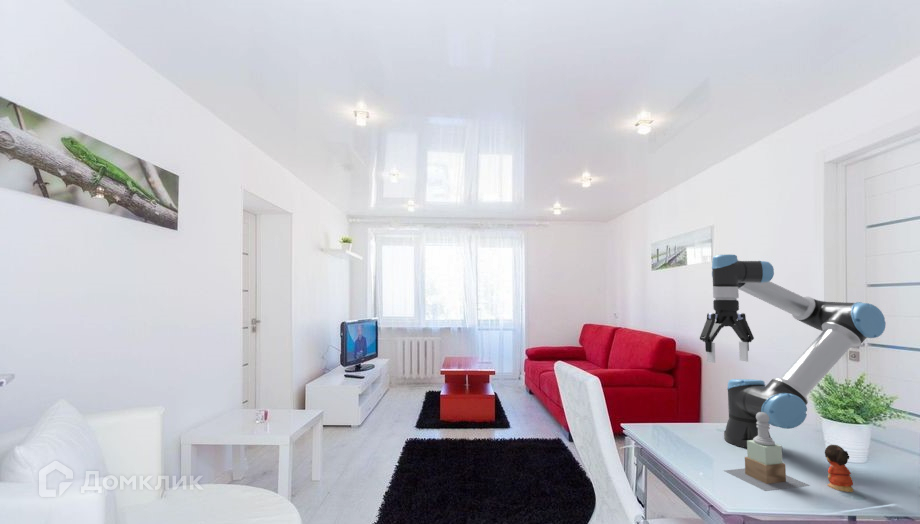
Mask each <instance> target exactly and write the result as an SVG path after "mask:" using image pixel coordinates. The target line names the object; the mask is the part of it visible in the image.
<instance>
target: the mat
mask: <svg viewBox="0 0 920 524" xmlns="http://www.w3.org/2000/svg"><path fill="white" fill-rule="evenodd" d="M723 472H726V473H727V474H730V475H731V476H733V477H736V478H737V479H740V480H742V481H744V482H745V483H748V484H750V485H751V486H754V487H756V488H758V489H760V490H763V491H765V492H769V491H777V490H778V491H779V490H785V489H793V488H794V489H795V488H802V487H811V484H808V483H805V482H803V481H801V480H798V479H796V478H794V477H792V476H790V475H787V474H786V482H779V483H770V484H766V483H764V482H762V481H759V480H757V479H755V478H753V477H751V476H749V475H747V474H745V467H744V468H736V469H726V470H725V469H724V470H723Z"/></svg>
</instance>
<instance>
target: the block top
mask: <svg viewBox="0 0 920 524" xmlns="http://www.w3.org/2000/svg"><path fill="white" fill-rule="evenodd" d="M746 450H747V451H746V452H747V456H746V457H748V458H750V459H752V460H755V461H757V462H760V463H762V464H764V465H772V464H782V463H783V450H782V445H781V444H777V443H775V445H773V446H766V445H761V444H758V443H755V442H754V441H753V440H747V448H746Z"/></svg>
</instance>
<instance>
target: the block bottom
mask: <svg viewBox="0 0 920 524" xmlns="http://www.w3.org/2000/svg"><path fill="white" fill-rule="evenodd" d="M744 468H745V474H747V475H749V476H751V477H753V478H755V479H757V480H759V481H762V482H764V483H766V484H770V483H779V482H786V475H787V473H786V463H785V462H784V463H783V462H782V464H772V465H764V464H762V463H760V462H757V461H755V460H752V459H750V458H748V456H744Z"/></svg>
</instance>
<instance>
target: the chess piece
mask: <svg viewBox="0 0 920 524" xmlns="http://www.w3.org/2000/svg"><path fill="white" fill-rule="evenodd" d="M756 419H757V422H756V424H757V426H756V427H757V428H758V436H756V437H755V438H753V441H754V442H755V443H758V444H761V445H766V446H773V445H775V444H776V442H775V441H774V440H773V438H772V437H771V438H772V439H771V438H769V433H770V428H771V427H770V425H771V424H769V423H768V422H769V416H768V415H767V414H766V413H764V412H759V413H757V414H756Z"/></svg>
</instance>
